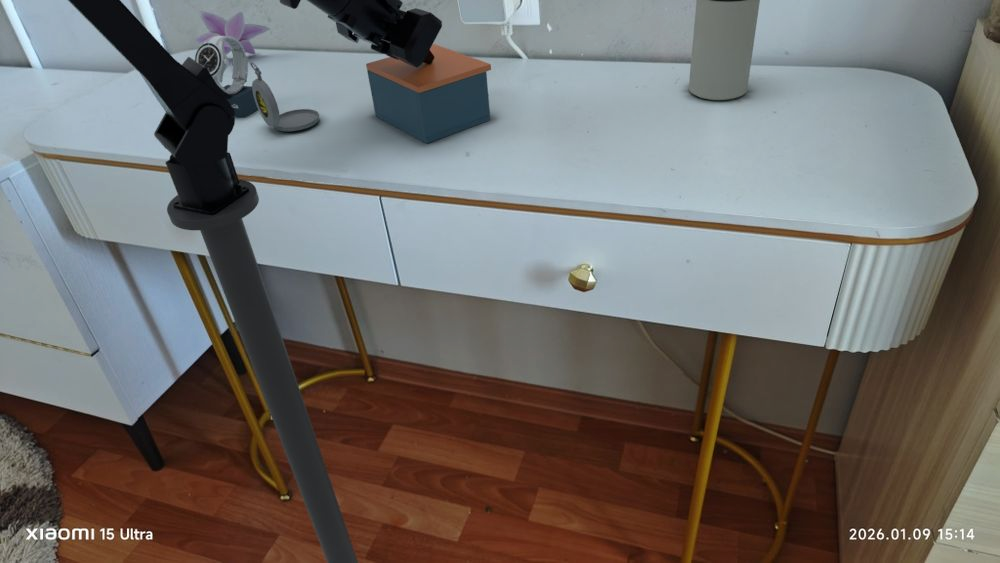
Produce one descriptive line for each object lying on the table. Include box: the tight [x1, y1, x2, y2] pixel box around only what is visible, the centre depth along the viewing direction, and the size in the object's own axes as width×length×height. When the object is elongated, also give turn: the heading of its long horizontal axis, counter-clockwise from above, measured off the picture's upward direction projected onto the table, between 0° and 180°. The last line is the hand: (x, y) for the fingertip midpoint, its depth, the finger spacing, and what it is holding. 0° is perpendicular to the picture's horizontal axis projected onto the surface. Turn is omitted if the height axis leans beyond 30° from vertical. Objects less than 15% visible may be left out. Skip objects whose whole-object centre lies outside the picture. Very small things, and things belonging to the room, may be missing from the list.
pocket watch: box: [249, 61, 320, 132], centre depth 96 cm, size 8×8×10 cm
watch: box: [194, 36, 259, 118], centre depth 102 cm, size 6×8×11 cm
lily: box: [192, 11, 271, 58], centre depth 123 cm, size 12×12×10 cm
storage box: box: [366, 69, 491, 144], centre depth 95 cm, size 11×14×7 cm
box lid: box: [365, 43, 492, 93], centre depth 93 cm, size 11×14×1 cm
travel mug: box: [688, 0, 761, 101], centre depth 92 cm, size 8×8×18 cm
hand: (431, 60), depth 93 cm, fingers closed, pressing on box lid
